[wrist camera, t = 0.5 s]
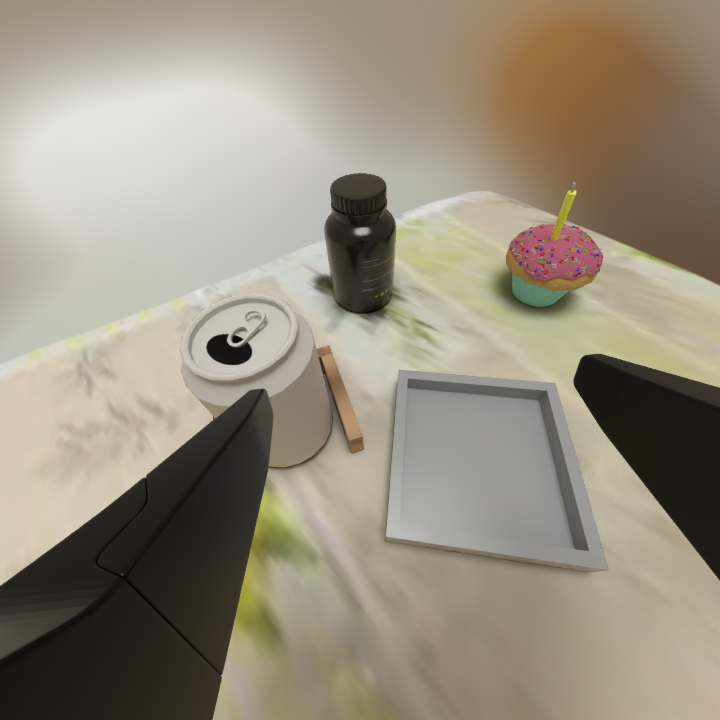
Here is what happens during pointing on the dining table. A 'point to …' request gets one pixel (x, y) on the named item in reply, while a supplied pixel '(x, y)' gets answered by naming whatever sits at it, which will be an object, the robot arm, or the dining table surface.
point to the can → (260, 369)
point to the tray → (488, 472)
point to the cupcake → (552, 260)
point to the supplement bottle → (360, 242)
